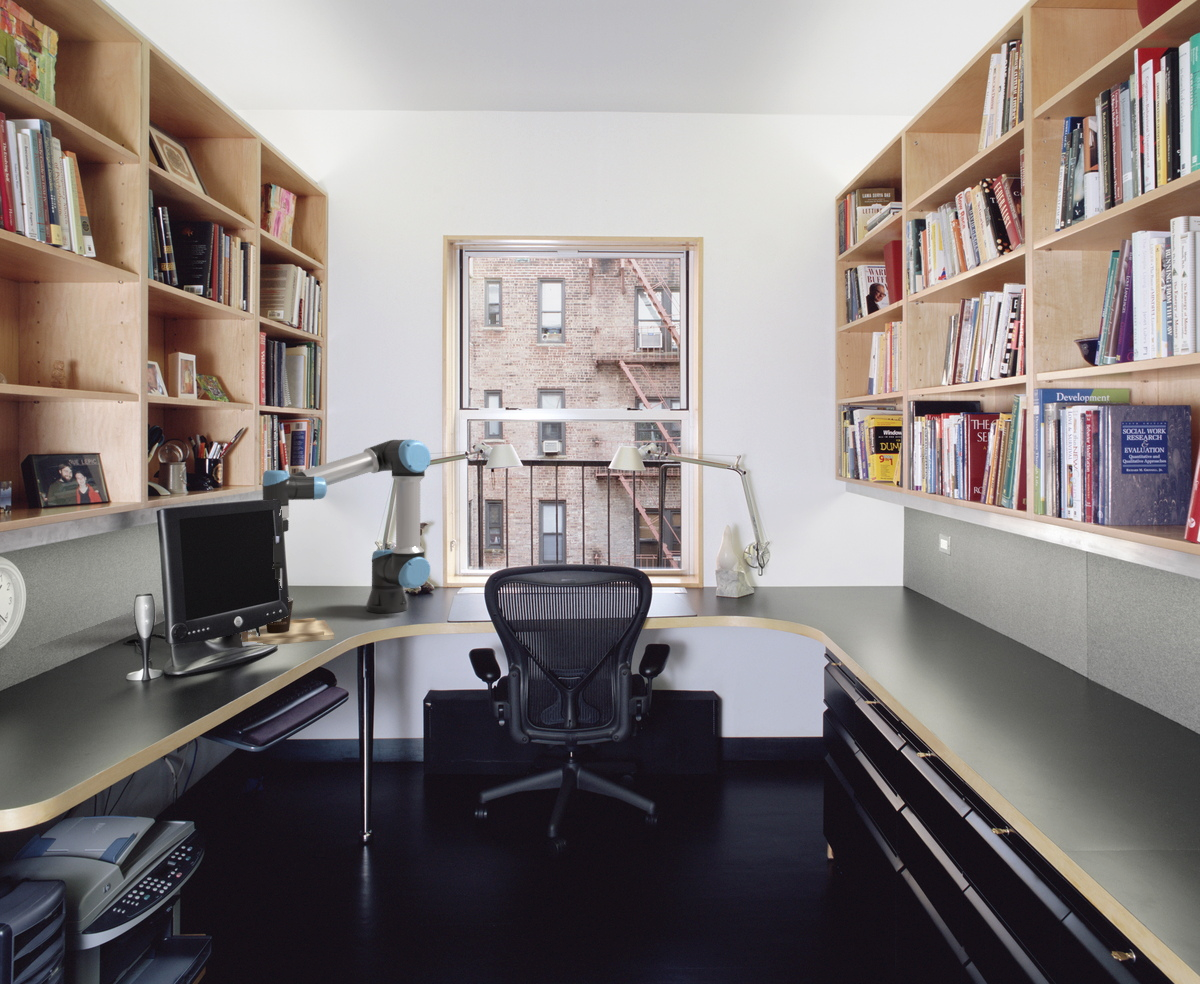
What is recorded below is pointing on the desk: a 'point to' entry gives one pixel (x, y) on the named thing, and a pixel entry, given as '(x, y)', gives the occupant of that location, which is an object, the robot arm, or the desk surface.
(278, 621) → the coffee mug
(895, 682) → the desk surface
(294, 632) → the channel board
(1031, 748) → the desk surface
